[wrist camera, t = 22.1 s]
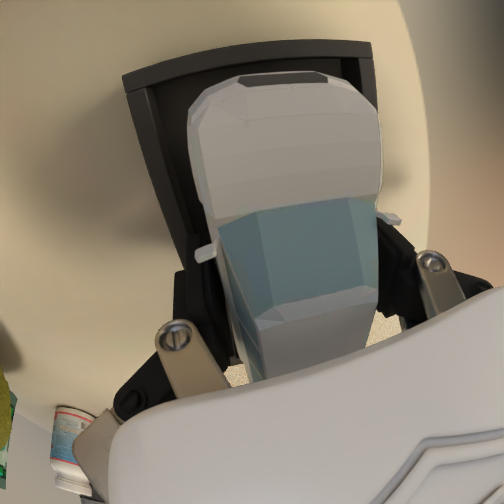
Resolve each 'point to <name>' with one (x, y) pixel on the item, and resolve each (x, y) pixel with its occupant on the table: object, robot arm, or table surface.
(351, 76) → the dock pad
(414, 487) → the robot arm
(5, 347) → the table surface
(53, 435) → the pill bottle
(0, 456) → the can
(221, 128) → the toy car
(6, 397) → the fruit
